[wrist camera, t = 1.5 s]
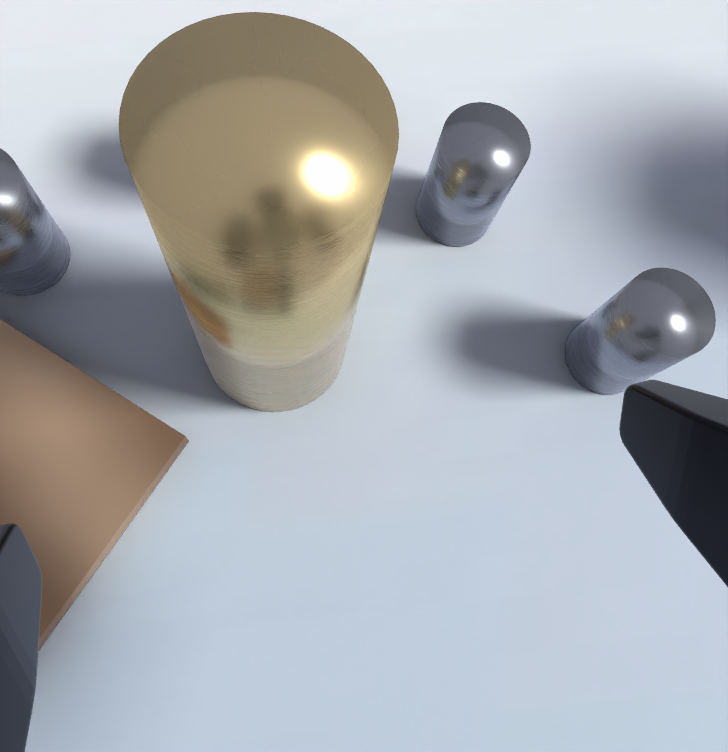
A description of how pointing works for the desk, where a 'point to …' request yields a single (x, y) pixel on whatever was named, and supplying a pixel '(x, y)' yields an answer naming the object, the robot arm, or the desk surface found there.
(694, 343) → the spacer posts
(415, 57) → the desk surface
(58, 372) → the pad
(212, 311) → the gold metal cylinder
